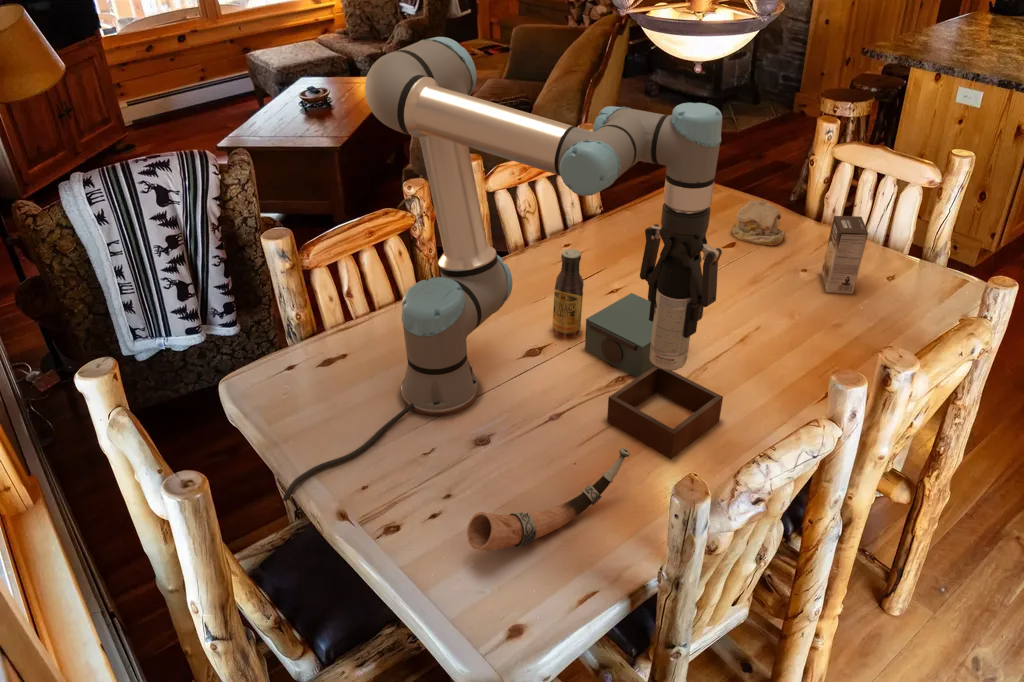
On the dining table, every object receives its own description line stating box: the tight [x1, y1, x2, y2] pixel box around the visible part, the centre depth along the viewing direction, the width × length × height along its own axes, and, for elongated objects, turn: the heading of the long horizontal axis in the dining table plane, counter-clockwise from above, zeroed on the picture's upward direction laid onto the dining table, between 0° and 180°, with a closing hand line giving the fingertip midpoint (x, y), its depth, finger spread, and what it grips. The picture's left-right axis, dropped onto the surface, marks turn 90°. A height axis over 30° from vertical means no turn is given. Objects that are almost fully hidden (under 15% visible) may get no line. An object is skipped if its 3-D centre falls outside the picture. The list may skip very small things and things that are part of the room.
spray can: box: [649, 257, 692, 371], centre depth 139 cm, size 7×7×20 cm
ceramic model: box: [731, 199, 786, 246], centre depth 214 cm, size 14×11×10 cm
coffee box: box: [820, 215, 869, 295], centre depth 189 cm, size 9×6×16 cm
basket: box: [606, 366, 724, 460], centre depth 150 cm, size 15×15×6 cm
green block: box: [584, 292, 654, 379], centre depth 170 cm, size 16×15×8 cm
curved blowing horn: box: [466, 447, 631, 551], centre depth 128 cm, size 6×30×10 cm, turn 121°
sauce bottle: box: [551, 248, 584, 339], centre depth 173 cm, size 6×6×20 cm
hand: (672, 325), depth 140 cm, fingers closed on spray can, 7 cm apart
